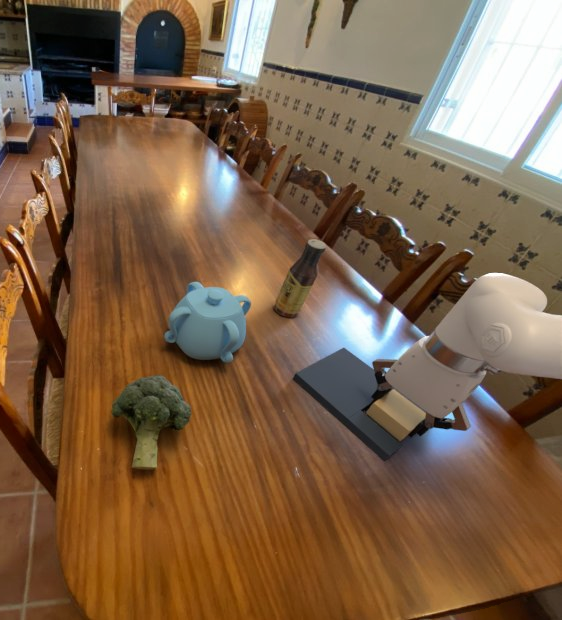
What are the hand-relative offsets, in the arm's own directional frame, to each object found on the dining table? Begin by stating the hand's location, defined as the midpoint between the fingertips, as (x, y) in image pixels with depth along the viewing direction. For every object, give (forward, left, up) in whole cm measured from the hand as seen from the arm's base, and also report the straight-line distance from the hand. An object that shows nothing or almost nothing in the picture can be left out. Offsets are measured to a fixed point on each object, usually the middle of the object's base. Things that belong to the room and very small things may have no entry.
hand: (394, 417), depth 65 cm
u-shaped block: (+6, 0, -2) cm, 6 cm away
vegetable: (+19, +41, -2) cm, 45 cm away
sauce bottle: (+32, -8, -2) cm, 33 cm away
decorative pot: (+33, +18, -2) cm, 38 cm away
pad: (0, 0, -1) cm, 1 cm away
